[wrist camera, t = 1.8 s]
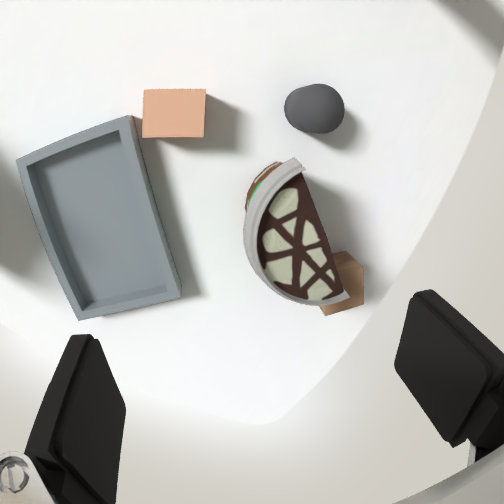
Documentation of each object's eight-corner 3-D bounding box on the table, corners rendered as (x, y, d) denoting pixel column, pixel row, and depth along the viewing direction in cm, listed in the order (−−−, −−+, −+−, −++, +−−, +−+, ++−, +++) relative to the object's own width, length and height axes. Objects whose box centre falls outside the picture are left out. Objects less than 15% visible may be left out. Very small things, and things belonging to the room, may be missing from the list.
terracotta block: (205, 93, 27) (205, 89, 23) (202, 134, 28) (203, 137, 25) (150, 93, 26) (143, 89, 22) (149, 135, 28) (142, 137, 24)
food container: (211, 174, 30) (216, 200, 21) (270, 147, 30) (302, 160, 21) (262, 278, 35) (284, 334, 26) (313, 254, 35) (351, 302, 26)
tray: (132, 115, 26) (126, 115, 24) (181, 285, 34) (180, 297, 32) (27, 156, 26) (15, 160, 23) (84, 308, 33) (78, 320, 31)
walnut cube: (345, 250, 35) (362, 268, 31) (347, 284, 37) (363, 304, 33) (307, 260, 35) (321, 279, 31) (312, 294, 37) (325, 316, 33)
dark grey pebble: (323, 85, 28) (339, 81, 24) (330, 127, 30) (347, 129, 26) (280, 90, 28) (291, 86, 24) (288, 134, 30) (301, 137, 26)
